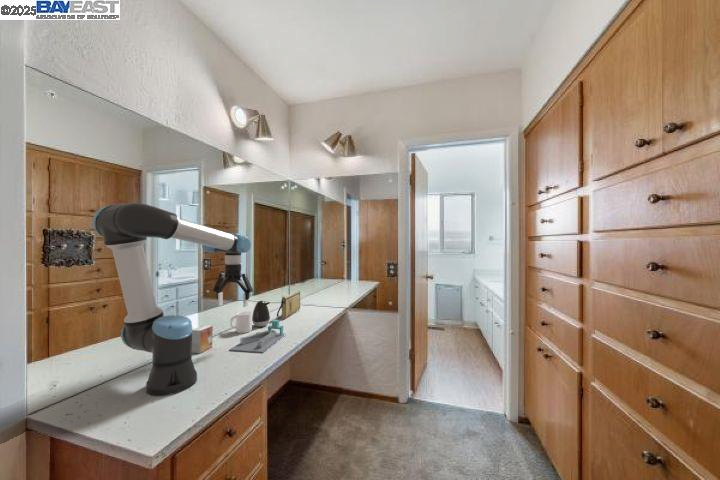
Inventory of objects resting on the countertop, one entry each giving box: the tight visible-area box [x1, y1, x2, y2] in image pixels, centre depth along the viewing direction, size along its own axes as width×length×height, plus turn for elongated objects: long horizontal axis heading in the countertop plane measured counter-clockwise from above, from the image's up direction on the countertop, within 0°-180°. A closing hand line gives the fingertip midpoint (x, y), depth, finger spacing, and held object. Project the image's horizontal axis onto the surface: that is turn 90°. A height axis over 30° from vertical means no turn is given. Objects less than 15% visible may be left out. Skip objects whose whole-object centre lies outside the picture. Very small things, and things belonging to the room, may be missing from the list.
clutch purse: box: [276, 290, 301, 320], centre depth 198 cm, size 30×7×15 cm, turn 171°
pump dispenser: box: [252, 300, 271, 328], centre depth 172 cm, size 10×10×15 cm
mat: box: [228, 332, 285, 354], centre depth 143 cm, size 26×17×1 cm, turn 171°
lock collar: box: [267, 319, 284, 335], centre depth 153 cm, size 2×8×8 cm, turn 81°
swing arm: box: [239, 330, 269, 345], centre depth 144 cm, size 15×2×3 cm, turn 141°
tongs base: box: [257, 329, 277, 348], centre depth 142 cm, size 18×3×3 cm, turn 171°
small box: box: [192, 324, 213, 354], centre depth 133 cm, size 8×6×10 cm
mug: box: [229, 311, 253, 334], centre depth 161 cm, size 12×8×10 cm
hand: (232, 306), depth 142 cm, fingers open, 13 cm apart
